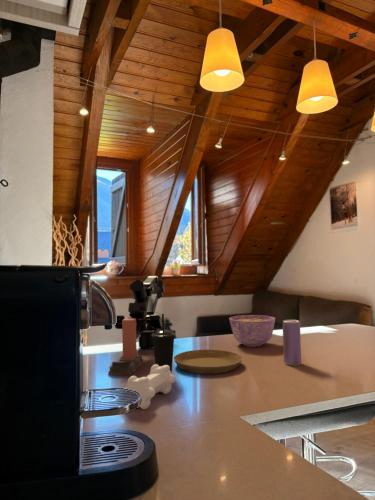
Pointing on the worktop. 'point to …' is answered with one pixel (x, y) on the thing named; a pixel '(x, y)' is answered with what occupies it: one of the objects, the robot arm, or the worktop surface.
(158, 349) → the drinking cup
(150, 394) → the bone shaped toy
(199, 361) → the plant saucer
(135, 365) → the press track
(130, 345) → the post
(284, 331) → the beverage can
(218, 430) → the worktop surface
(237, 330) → the bowl of food
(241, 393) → the worktop surface
